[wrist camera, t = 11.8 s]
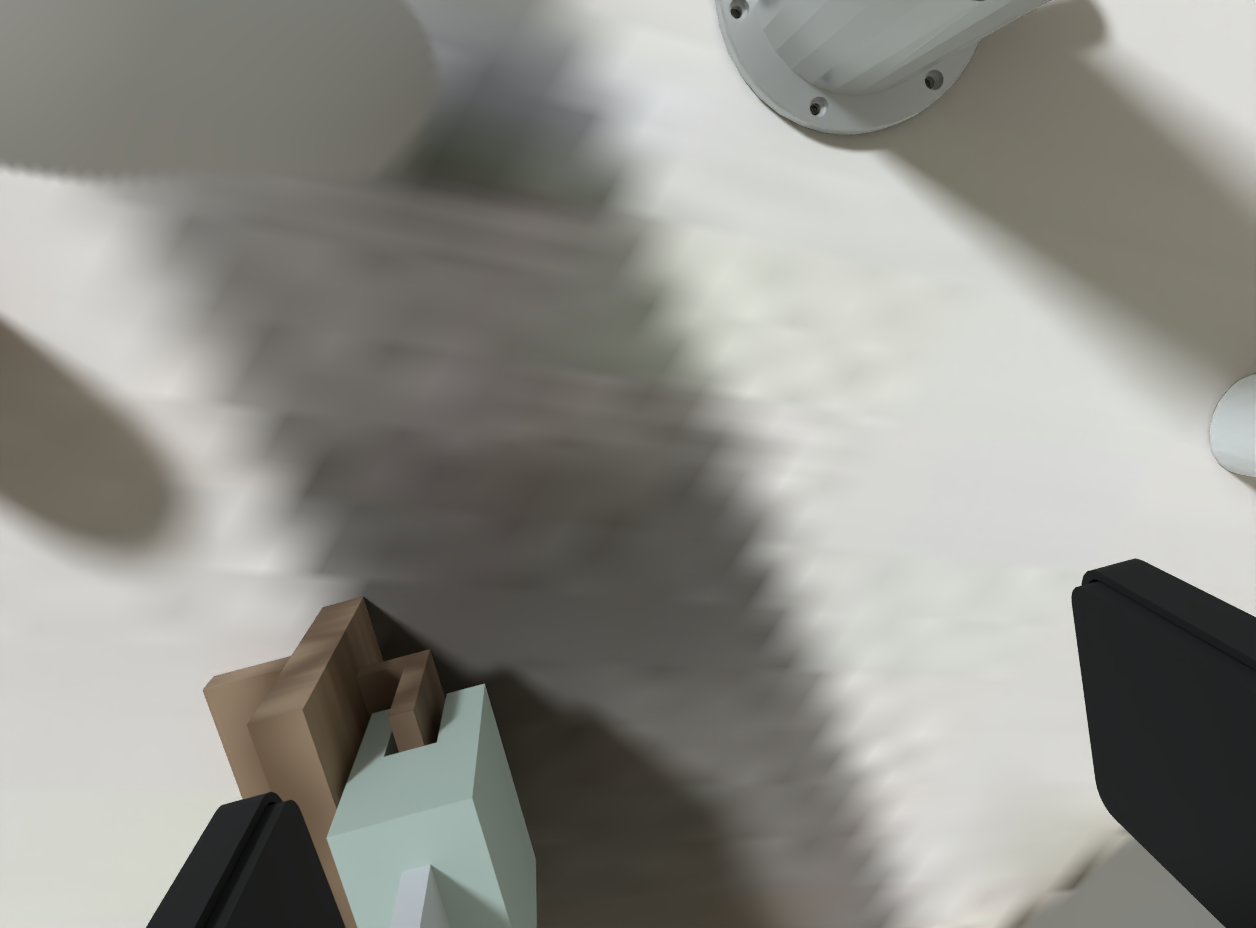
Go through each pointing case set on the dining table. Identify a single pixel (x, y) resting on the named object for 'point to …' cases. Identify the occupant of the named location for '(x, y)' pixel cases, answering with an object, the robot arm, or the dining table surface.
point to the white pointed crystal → (1236, 428)
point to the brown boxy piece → (322, 718)
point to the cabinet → (435, 828)
